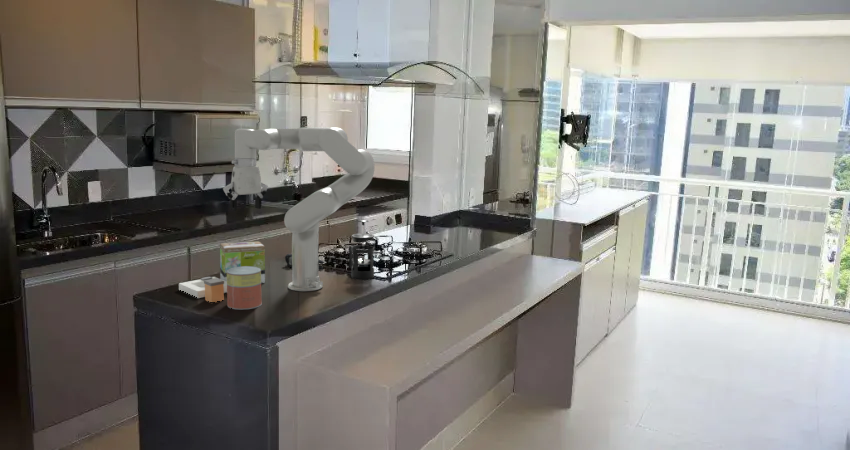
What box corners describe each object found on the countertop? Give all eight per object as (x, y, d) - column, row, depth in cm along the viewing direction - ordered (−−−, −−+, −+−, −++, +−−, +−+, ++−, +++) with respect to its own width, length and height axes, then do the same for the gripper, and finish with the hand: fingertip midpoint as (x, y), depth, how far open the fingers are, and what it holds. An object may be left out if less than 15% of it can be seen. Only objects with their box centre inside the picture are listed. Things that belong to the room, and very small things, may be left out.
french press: (380, 276, 260) (381, 220, 256) (366, 281, 252) (366, 223, 248) (357, 272, 266) (357, 216, 262) (342, 276, 258) (342, 219, 254)
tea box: (225, 287, 240) (224, 248, 237) (220, 280, 248) (219, 242, 246) (265, 283, 246) (265, 245, 244) (259, 276, 255) (258, 240, 253)
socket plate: (234, 290, 235) (233, 282, 234) (197, 298, 225) (197, 289, 224) (214, 283, 244) (214, 275, 244) (179, 289, 234) (178, 281, 234)
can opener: (281, 267, 272) (281, 254, 271) (290, 263, 278) (290, 251, 277) (319, 271, 266) (319, 258, 265) (327, 268, 273) (327, 254, 272)
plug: (224, 300, 223) (223, 280, 222) (211, 303, 220) (211, 283, 218) (217, 297, 226) (216, 278, 225) (204, 300, 223) (203, 280, 222)
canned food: (263, 299, 225) (263, 266, 223) (259, 309, 214) (258, 274, 212) (230, 299, 224) (229, 266, 222) (224, 309, 213) (223, 274, 211)
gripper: (228, 164, 228) (228, 212, 231) (272, 163, 239) (272, 209, 242) (218, 162, 233) (219, 209, 236) (262, 161, 245) (262, 206, 248)
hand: (246, 209), depth 239 cm, fingers open, 9 cm apart
